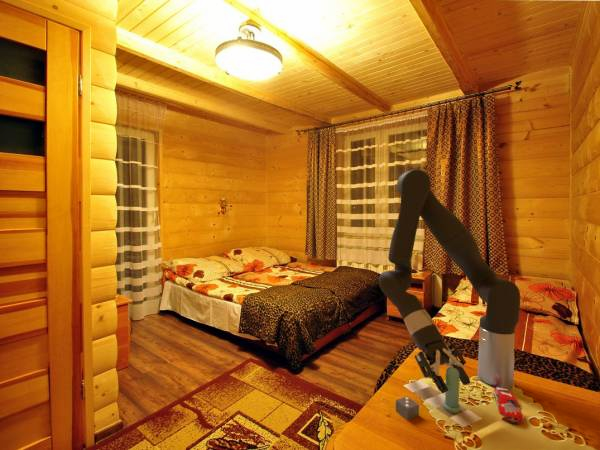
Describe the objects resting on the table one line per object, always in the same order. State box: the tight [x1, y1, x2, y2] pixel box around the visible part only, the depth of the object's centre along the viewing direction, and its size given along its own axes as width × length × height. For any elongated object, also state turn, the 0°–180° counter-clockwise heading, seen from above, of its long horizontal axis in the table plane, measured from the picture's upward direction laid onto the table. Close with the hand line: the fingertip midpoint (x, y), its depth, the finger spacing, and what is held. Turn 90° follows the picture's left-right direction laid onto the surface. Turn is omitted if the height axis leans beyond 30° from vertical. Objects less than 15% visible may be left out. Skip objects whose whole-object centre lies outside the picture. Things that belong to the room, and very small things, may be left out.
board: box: [403, 379, 483, 428], centre depth 85 cm, size 8×20×1 cm, turn 27°
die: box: [395, 395, 420, 421], centre depth 80 cm, size 4×4×4 cm
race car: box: [492, 387, 524, 425], centre depth 83 cm, size 13×5×4 cm, turn 155°
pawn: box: [443, 366, 461, 415], centre depth 81 cm, size 4×4×11 cm
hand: (456, 388), depth 80 cm, fingers open, 8 cm apart
